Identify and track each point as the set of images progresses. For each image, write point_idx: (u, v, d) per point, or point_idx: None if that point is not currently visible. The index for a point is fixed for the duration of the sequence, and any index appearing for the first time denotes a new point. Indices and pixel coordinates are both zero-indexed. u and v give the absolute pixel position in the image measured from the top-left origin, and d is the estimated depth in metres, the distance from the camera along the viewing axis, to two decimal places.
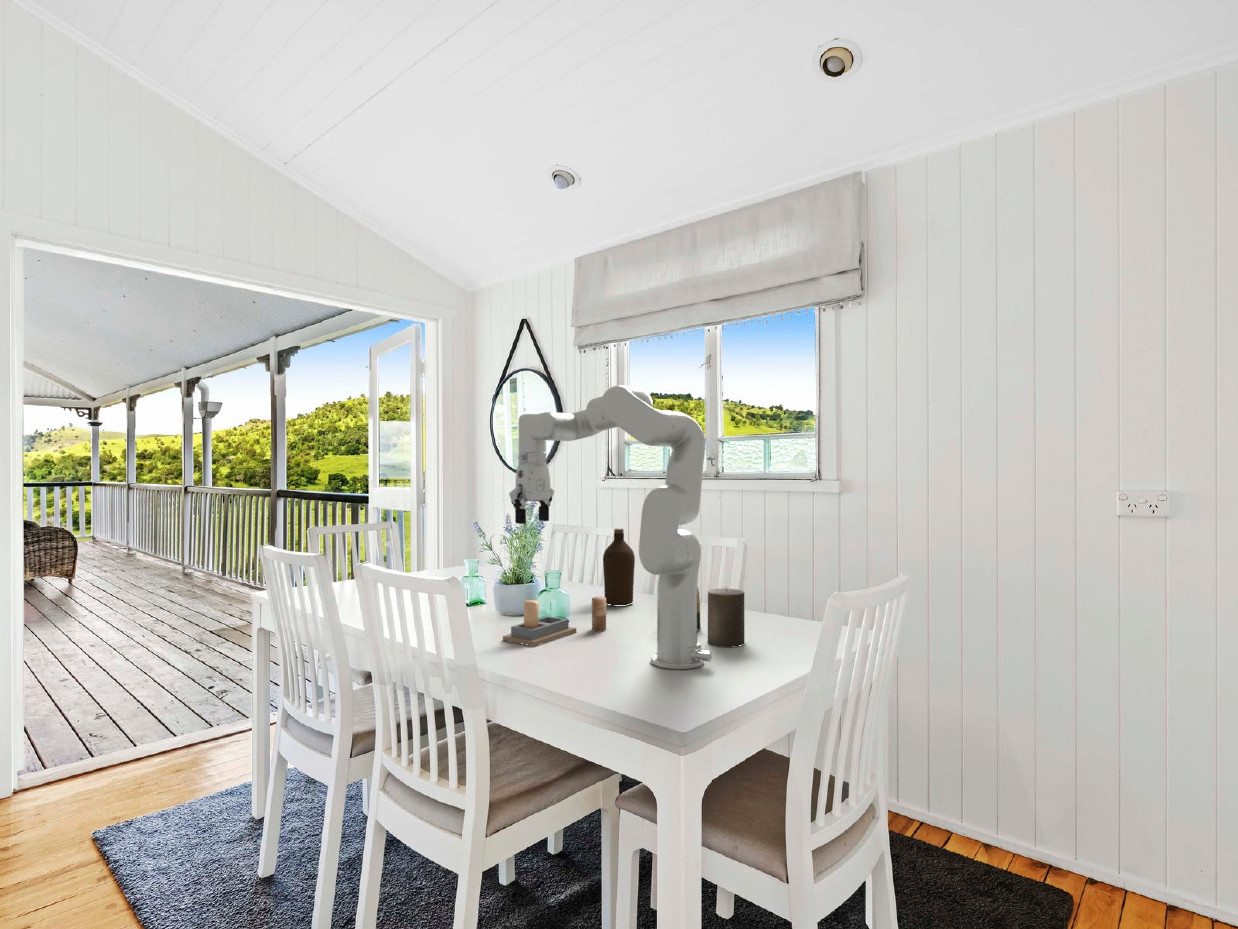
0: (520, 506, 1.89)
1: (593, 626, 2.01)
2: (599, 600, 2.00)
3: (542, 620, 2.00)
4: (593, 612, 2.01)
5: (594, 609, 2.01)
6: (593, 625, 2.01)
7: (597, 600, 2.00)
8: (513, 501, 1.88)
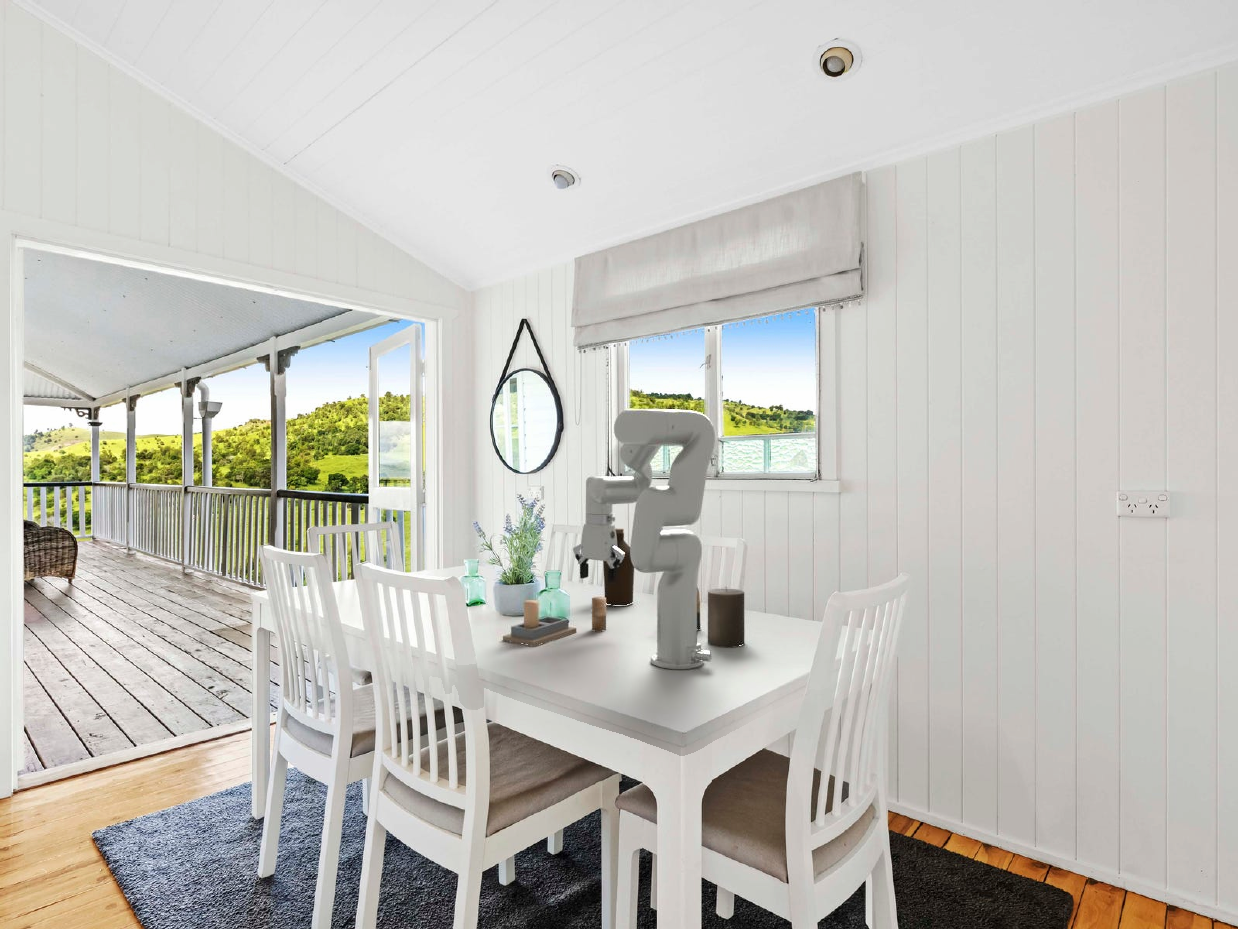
0: None
1: (593, 626, 2.01)
2: (599, 600, 2.00)
3: (542, 620, 2.00)
4: (593, 612, 2.01)
5: (594, 609, 2.01)
6: (593, 625, 2.01)
7: (597, 600, 2.00)
8: (620, 561, 1.98)
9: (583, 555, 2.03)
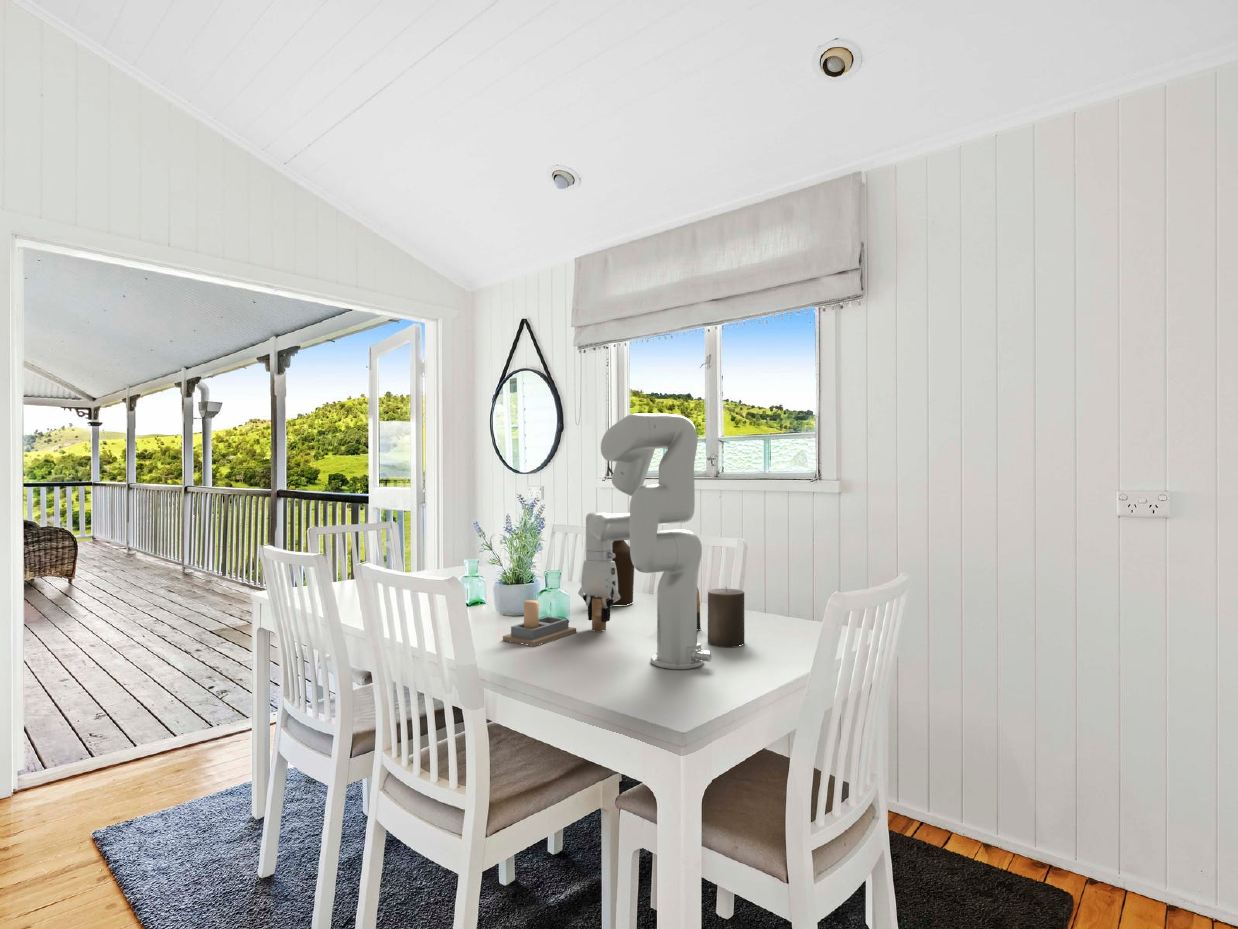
0: (611, 605, 2.01)
1: (593, 626, 2.01)
2: (599, 600, 2.00)
3: (542, 620, 2.00)
4: (593, 612, 2.01)
5: (594, 609, 2.01)
6: (593, 625, 2.01)
7: (597, 600, 2.00)
8: (613, 602, 1.99)
9: (584, 592, 2.03)
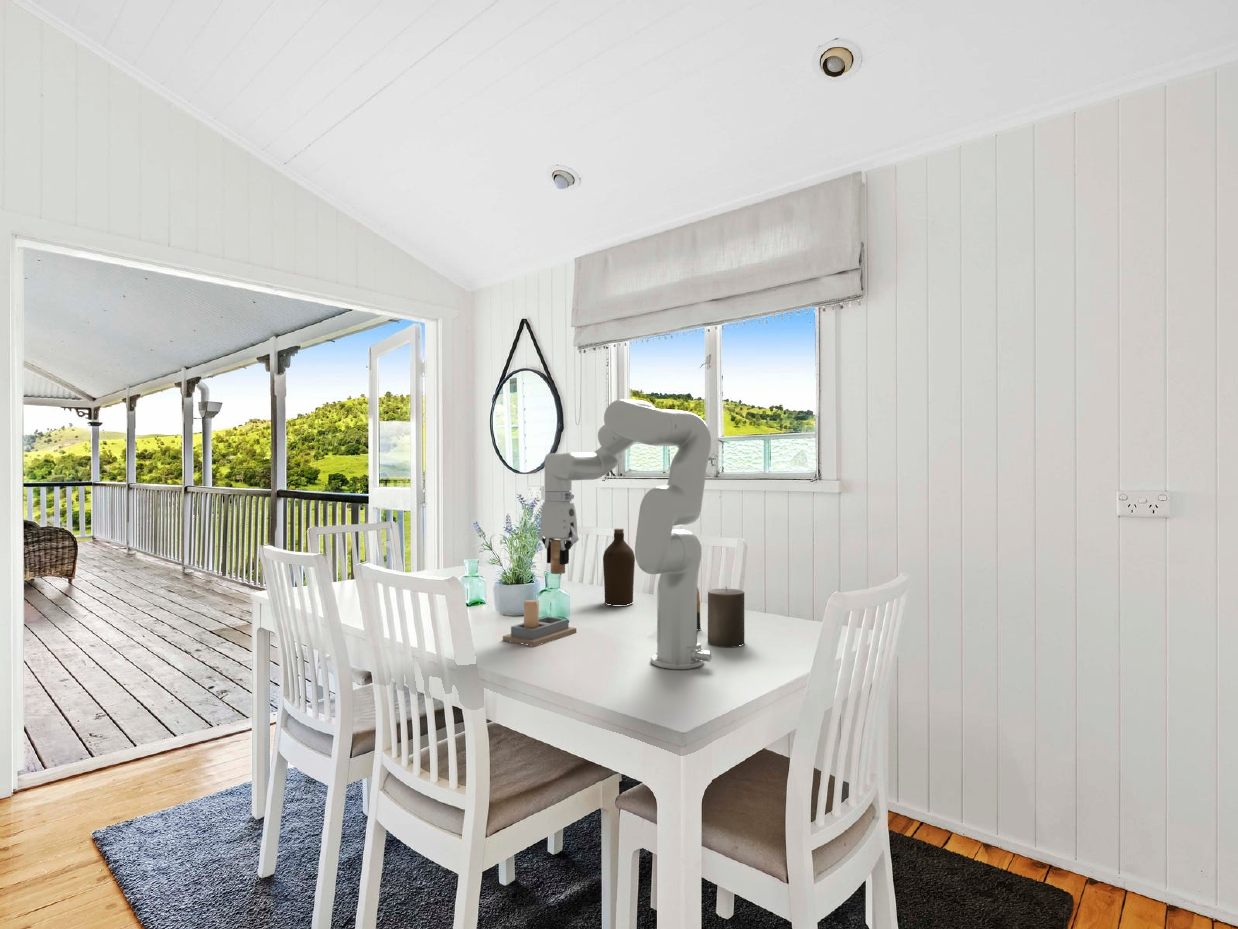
0: (570, 548, 1.97)
1: (551, 568, 1.97)
2: (557, 542, 1.97)
3: (542, 620, 2.00)
4: (552, 554, 1.97)
5: (552, 551, 1.97)
6: (551, 567, 1.97)
7: (555, 542, 1.97)
8: (572, 544, 1.96)
9: (542, 534, 1.99)
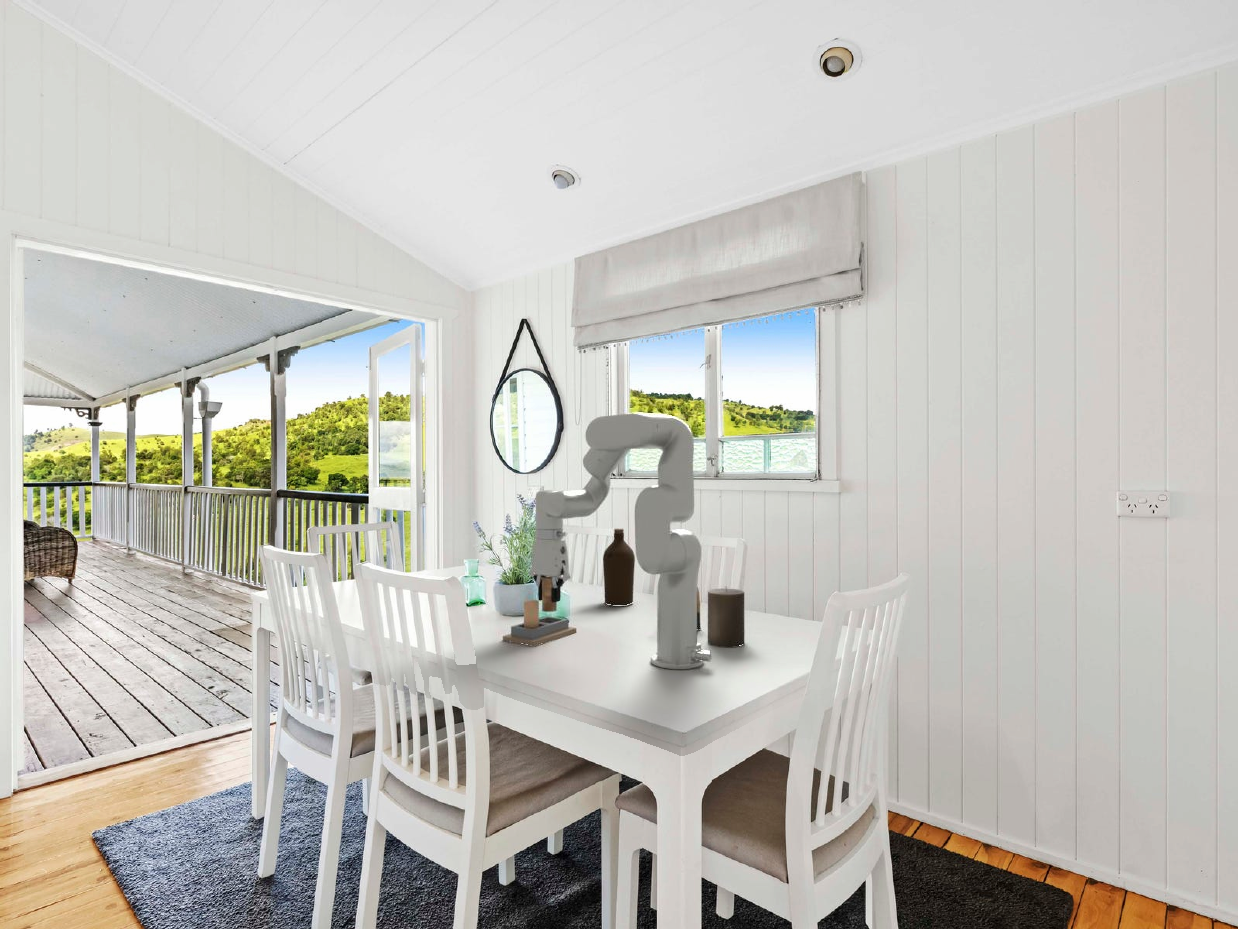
0: (561, 585, 1.97)
1: (543, 606, 1.97)
2: (549, 580, 1.96)
3: (542, 620, 2.00)
4: (543, 592, 1.97)
5: (544, 589, 1.96)
6: (543, 605, 1.97)
7: (547, 580, 1.96)
8: (563, 581, 1.95)
9: (534, 571, 1.98)
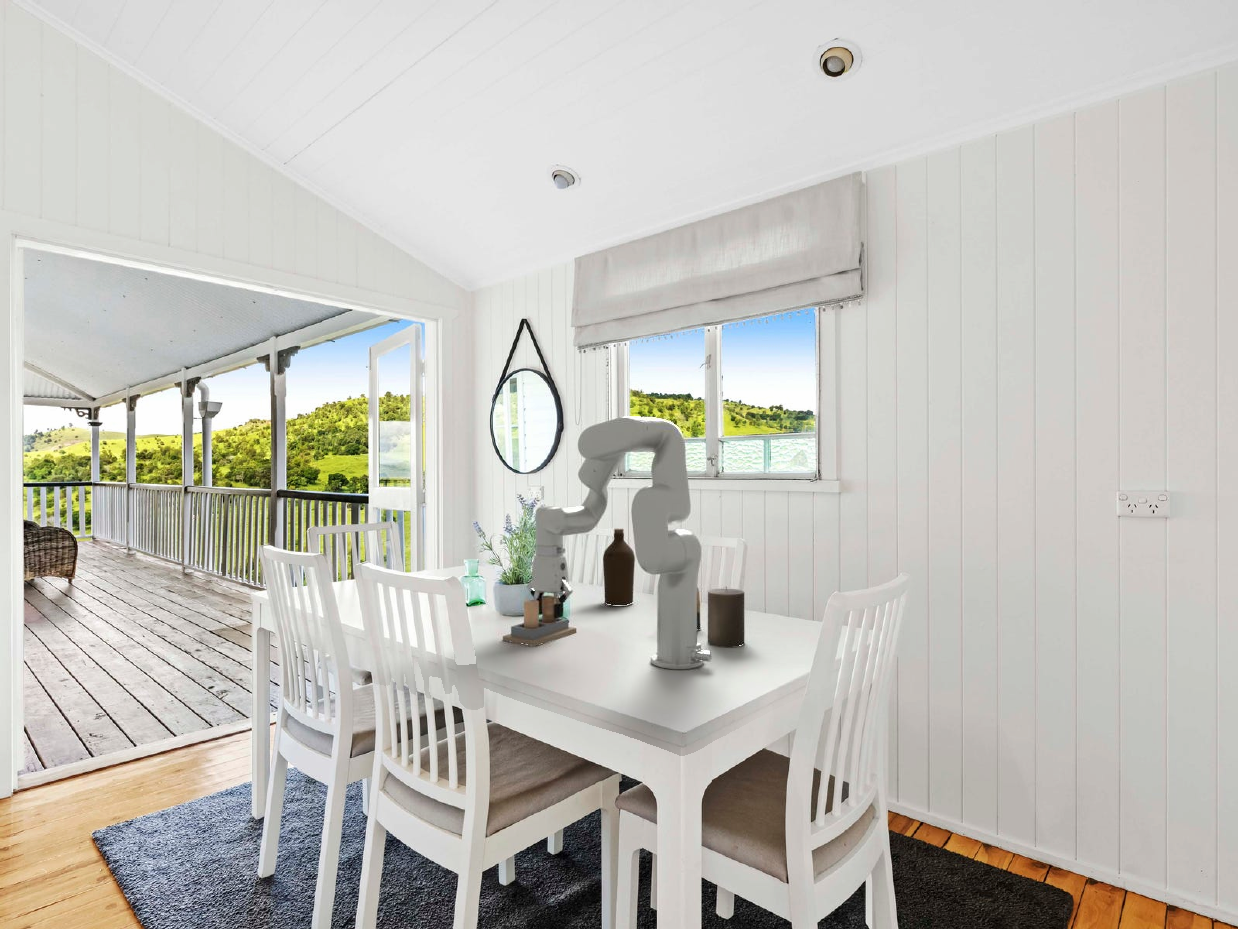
0: (564, 601, 1.96)
1: None
2: (549, 598, 1.96)
3: None
4: (543, 611, 1.97)
5: (544, 607, 1.97)
6: None
7: (547, 598, 1.96)
8: (566, 597, 1.94)
9: (534, 587, 1.98)
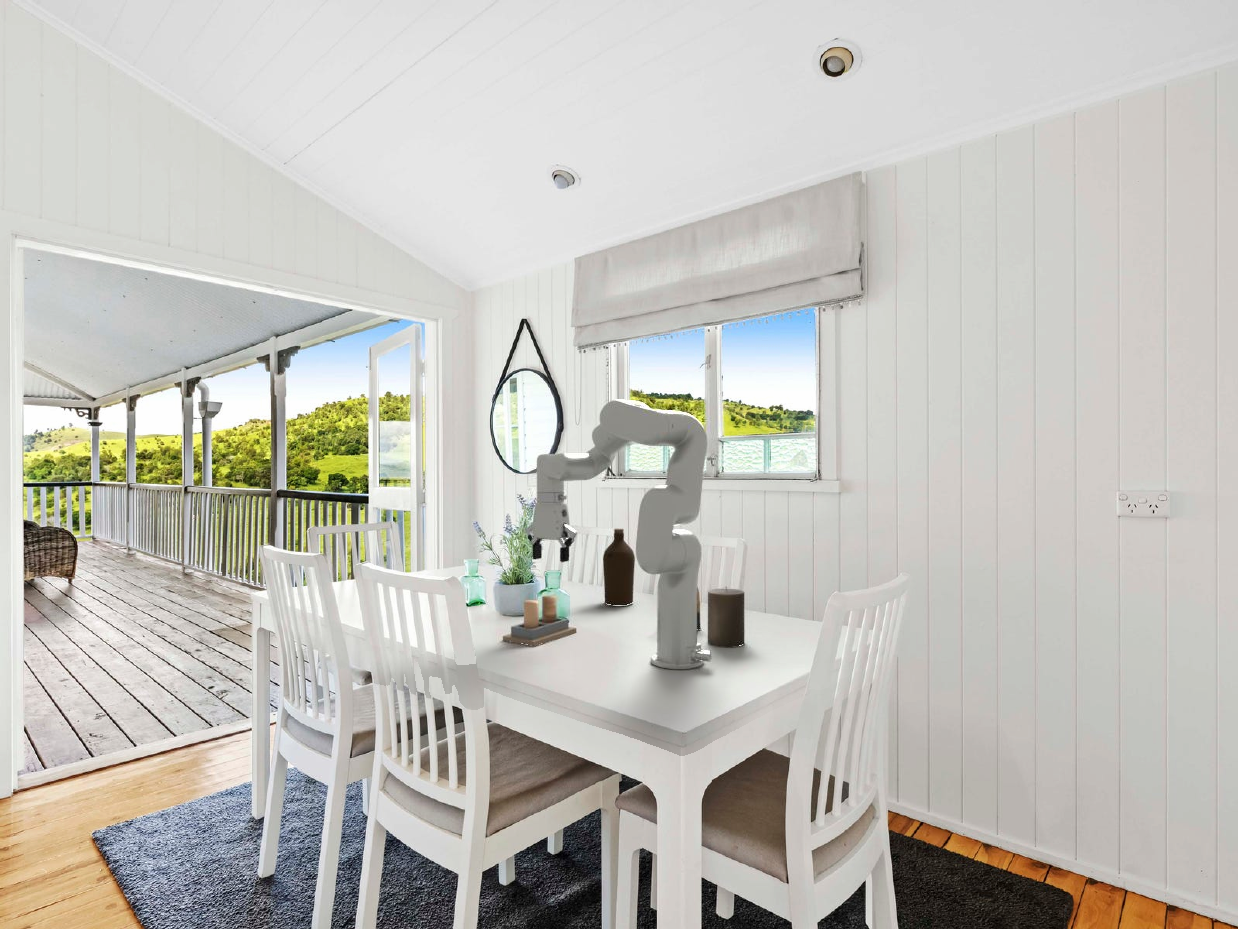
0: (570, 544, 1.95)
1: None
2: (549, 599, 1.96)
3: None
4: (543, 611, 1.97)
5: (544, 608, 1.96)
6: None
7: (547, 599, 1.96)
8: (572, 540, 1.94)
9: (535, 535, 1.98)
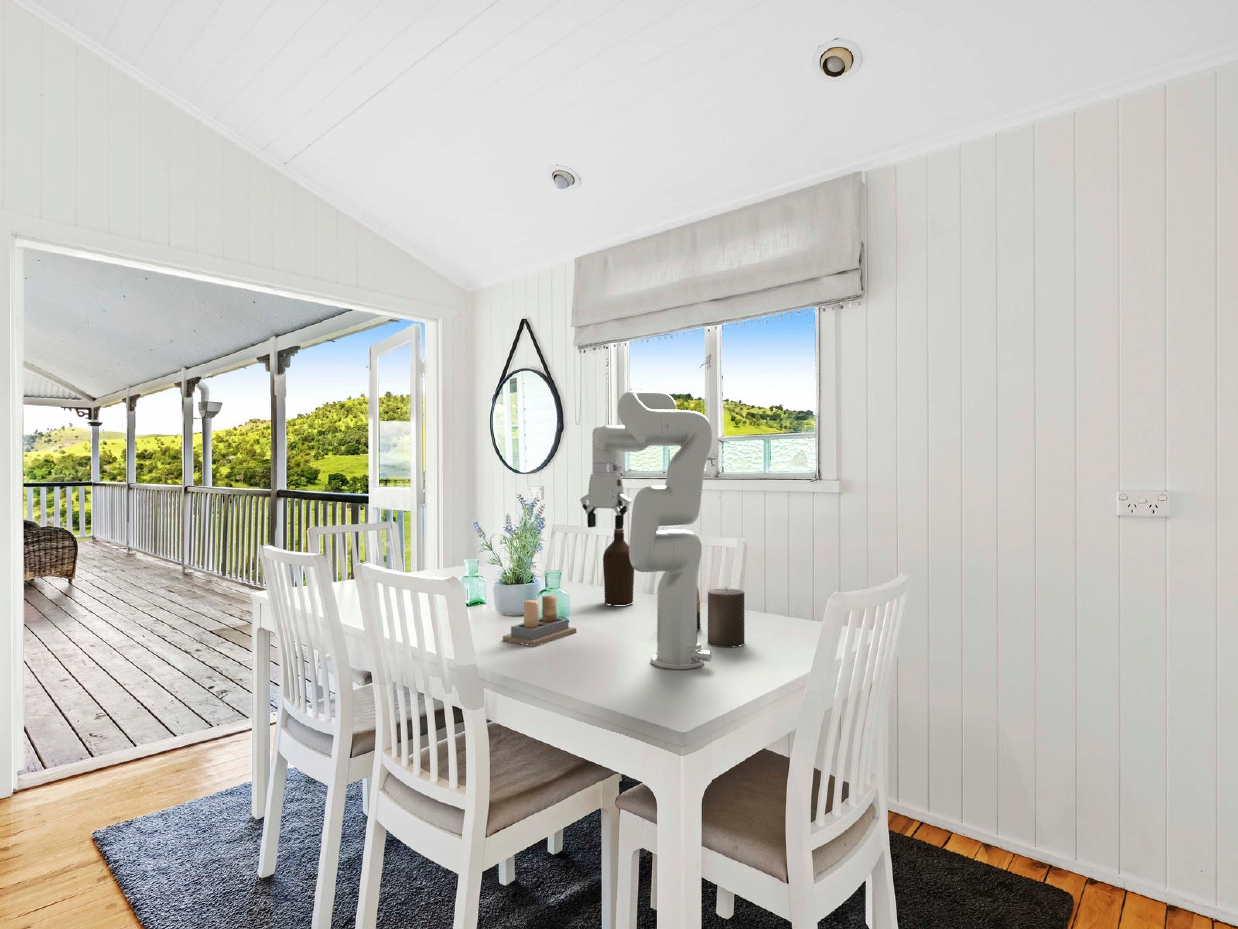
0: (624, 512, 2.06)
1: None
2: (549, 599, 1.96)
3: None
4: (543, 611, 1.97)
5: (544, 608, 1.96)
6: None
7: (547, 599, 1.96)
8: (627, 508, 2.04)
9: (590, 504, 2.08)
